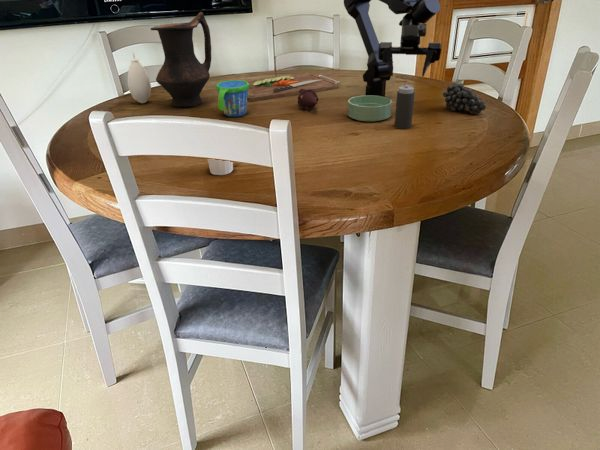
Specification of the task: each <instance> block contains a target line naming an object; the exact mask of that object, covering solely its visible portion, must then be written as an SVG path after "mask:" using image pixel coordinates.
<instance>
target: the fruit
mask: <svg viewBox="0 0 600 450" xmlns="http://www.w3.org/2000/svg"><path fill="white" fill-rule="evenodd" d="M442 97H444V102H445V106H446V107H447V108H450V110H451V112H456V111H458V112H462V111H466V112H470V114H471V115H475V114H480V113H482V111H485V110H486V109H487V105H486V103H485V101H483V99H481V98H480V97H479V96H477V95H476V94H475V93H473V90H472V89H470V88H469V89H467V88H466V87H464V84H463V83H458V82H455V83H453V84H452V85H448V86H447V88H446V91H444V92H443V93H442Z"/></svg>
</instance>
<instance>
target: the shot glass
mask: <svg viewBox="0 0 600 450" xmlns="http://www.w3.org/2000/svg"><path fill="white" fill-rule="evenodd" d="M207 163H208V164H207V165H208V168H209V173H210V174H212V175H215V176H225V175H228V174H231V173H232V172H233V171H234V161H233V162H230V161H222V160H215V159H207Z"/></svg>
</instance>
